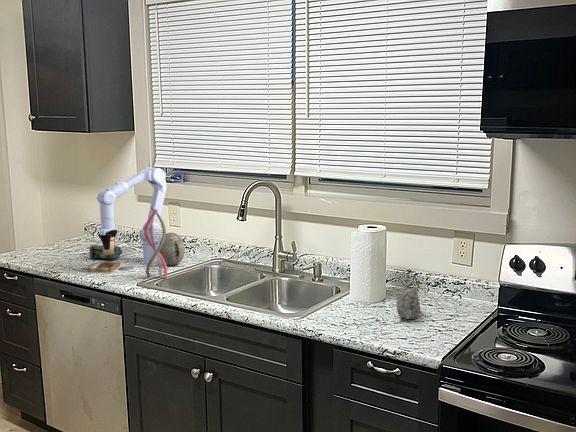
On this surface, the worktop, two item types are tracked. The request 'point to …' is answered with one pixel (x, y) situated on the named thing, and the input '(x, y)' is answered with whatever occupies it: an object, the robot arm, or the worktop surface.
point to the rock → (408, 304)
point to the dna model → (150, 220)
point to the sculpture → (97, 252)
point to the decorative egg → (172, 249)
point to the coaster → (126, 268)
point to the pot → (111, 249)
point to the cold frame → (103, 266)
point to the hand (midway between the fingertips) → (109, 248)
